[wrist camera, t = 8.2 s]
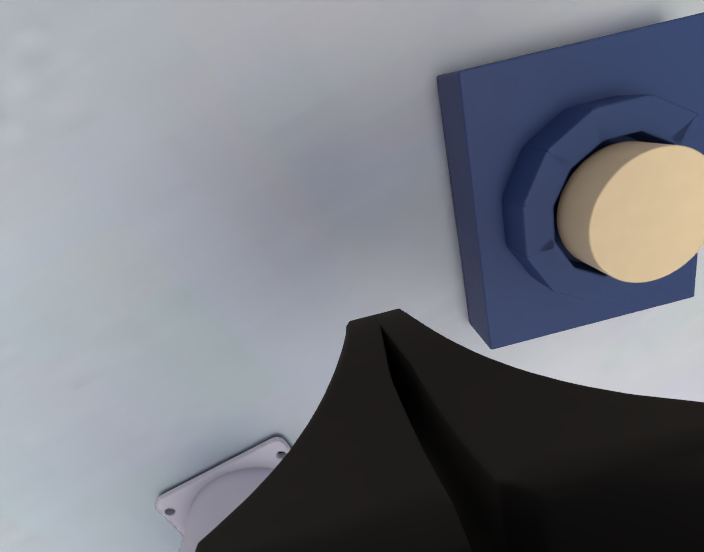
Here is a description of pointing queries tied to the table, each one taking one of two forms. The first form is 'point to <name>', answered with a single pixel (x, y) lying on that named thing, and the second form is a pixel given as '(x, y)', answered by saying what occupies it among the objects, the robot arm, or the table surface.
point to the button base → (560, 169)
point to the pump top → (635, 210)
